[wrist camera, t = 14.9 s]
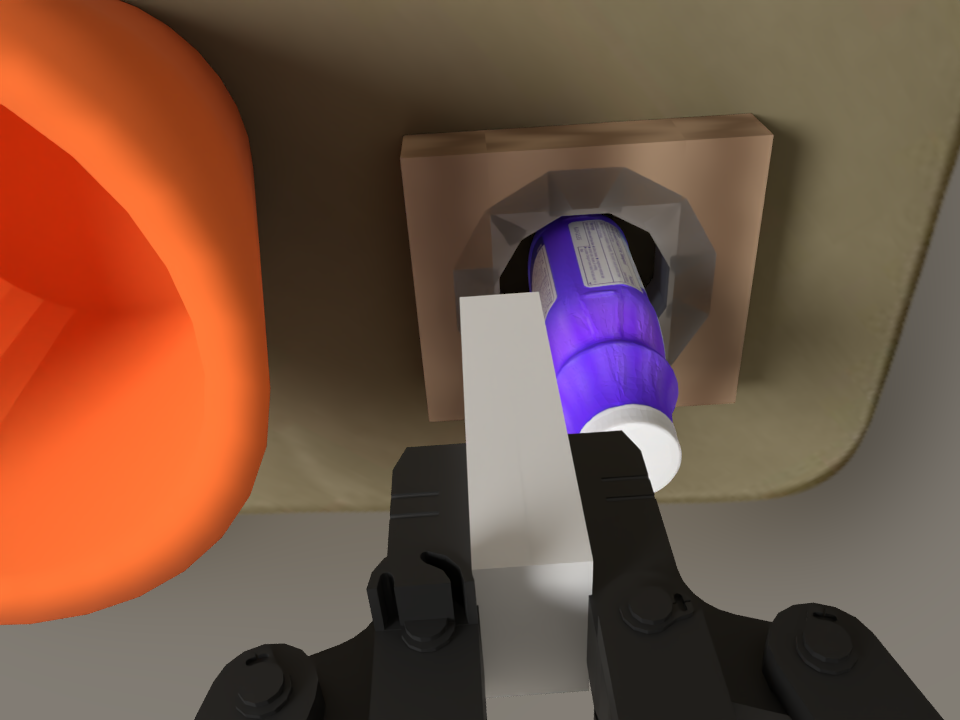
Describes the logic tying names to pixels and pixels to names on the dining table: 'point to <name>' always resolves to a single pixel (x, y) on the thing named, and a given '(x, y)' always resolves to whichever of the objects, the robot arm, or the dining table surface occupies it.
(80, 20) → the flowerpot
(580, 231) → the bottle
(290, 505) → the dining table surface
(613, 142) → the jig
